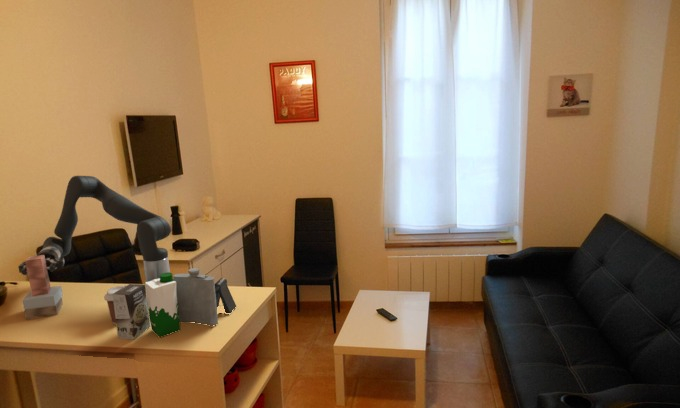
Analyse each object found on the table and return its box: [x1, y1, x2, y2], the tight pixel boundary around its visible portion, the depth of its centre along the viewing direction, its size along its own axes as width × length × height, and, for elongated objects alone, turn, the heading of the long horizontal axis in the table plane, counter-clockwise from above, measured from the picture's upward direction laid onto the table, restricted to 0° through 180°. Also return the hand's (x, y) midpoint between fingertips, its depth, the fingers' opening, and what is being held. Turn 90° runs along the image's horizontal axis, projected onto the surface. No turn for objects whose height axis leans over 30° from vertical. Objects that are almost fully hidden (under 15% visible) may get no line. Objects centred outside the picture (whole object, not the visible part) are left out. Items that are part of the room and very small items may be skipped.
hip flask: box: [172, 267, 219, 327], centre depth 153 cm, size 16×4×20 cm, turn 73°
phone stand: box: [215, 277, 237, 314], centre depth 163 cm, size 9×6×12 cm, turn 82°
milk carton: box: [144, 272, 181, 338], centre depth 148 cm, size 9×9×20 cm
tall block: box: [24, 255, 52, 296], centre depth 164 cm, size 5×5×14 cm
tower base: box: [23, 296, 64, 321], centre depth 166 cm, size 10×10×4 cm
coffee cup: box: [103, 285, 126, 325], centre depth 157 cm, size 9×9×12 cm
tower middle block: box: [22, 285, 63, 310], centre depth 166 cm, size 10×10×4 cm
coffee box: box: [113, 283, 151, 341], centre depth 147 cm, size 9×6×16 cm
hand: (37, 271), depth 161 cm, fingers open, 8 cm apart
